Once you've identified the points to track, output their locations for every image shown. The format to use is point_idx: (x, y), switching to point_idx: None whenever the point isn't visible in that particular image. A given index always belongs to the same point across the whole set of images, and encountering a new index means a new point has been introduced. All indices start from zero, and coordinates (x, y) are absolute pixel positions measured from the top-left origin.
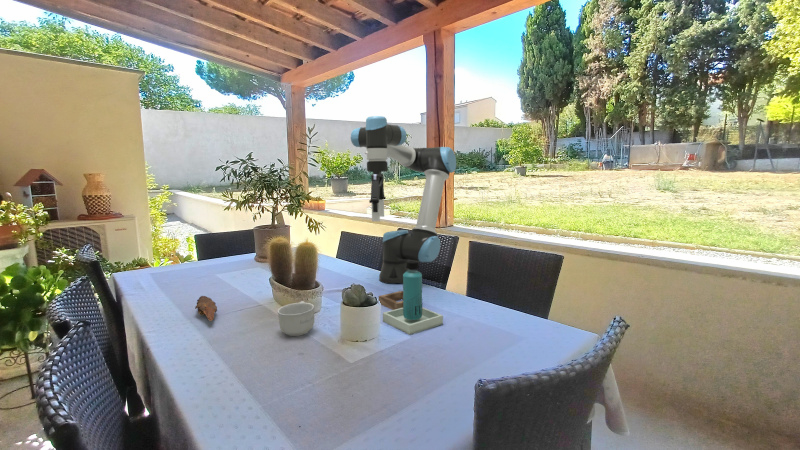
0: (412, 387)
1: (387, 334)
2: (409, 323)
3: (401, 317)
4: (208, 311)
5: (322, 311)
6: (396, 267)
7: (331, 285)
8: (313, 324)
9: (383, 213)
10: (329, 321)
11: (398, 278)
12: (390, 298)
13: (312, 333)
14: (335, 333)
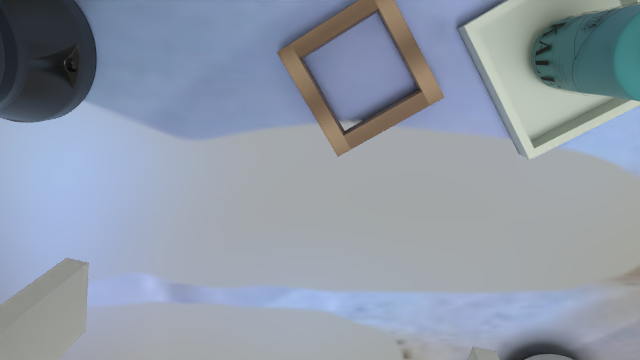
0: None
1: (630, 150)
2: None
3: (515, 89)
4: None
5: (387, 323)
6: (30, 49)
7: (115, 296)
8: (565, 358)
9: (66, 286)
10: (477, 304)
11: (78, 43)
12: (329, 107)
13: (558, 345)
14: (576, 290)
